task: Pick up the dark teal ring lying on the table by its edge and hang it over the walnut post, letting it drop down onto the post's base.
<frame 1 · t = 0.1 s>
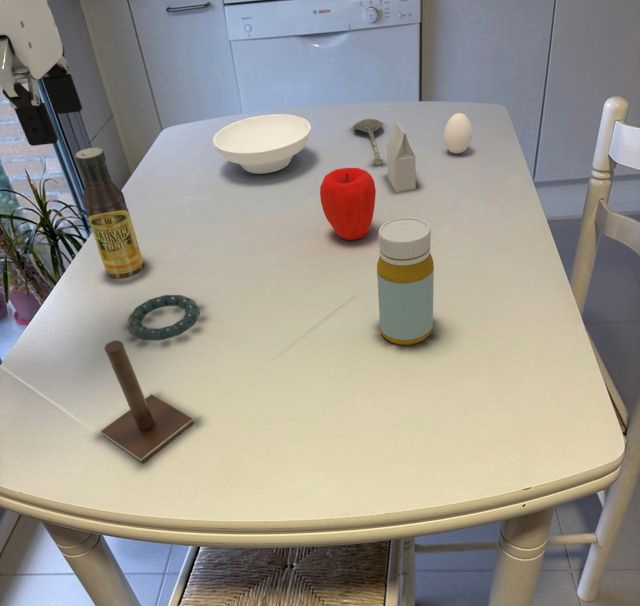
hand: (57, 127, 74), 29 cm above the table, tool pointing down, fingers open, 9 cm apart
bottle: (406, 332, 88), on the table
apple: (351, 236, 108), on the table
soupspoon: (371, 146, 134), on the table
egg: (457, 153, 127), on the table
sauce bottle: (128, 274, 107), on the table
bowl: (267, 167, 132), on the table
peg stand: (148, 430, 79), on the table
ring: (163, 318, 95), point 1 cm above the table
milk carton: (401, 184, 120), on the table
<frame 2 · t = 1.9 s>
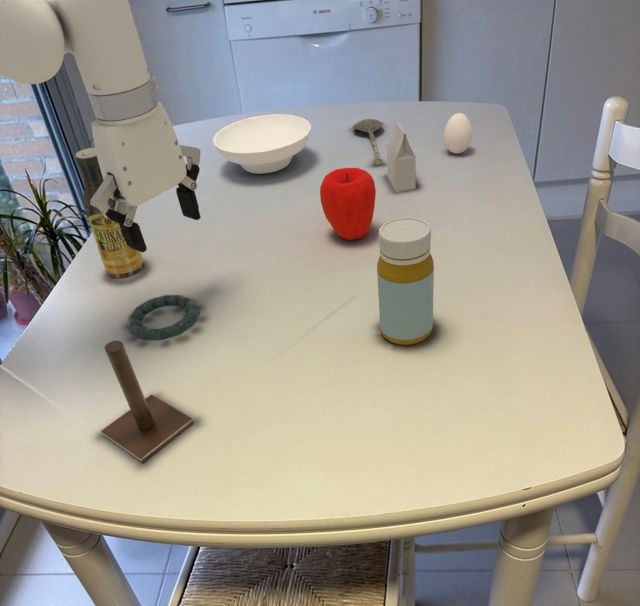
hand: (166, 232, 89), 13 cm above the table, tool pointing down, fingers open, 9 cm apart
nothing on the table moved.
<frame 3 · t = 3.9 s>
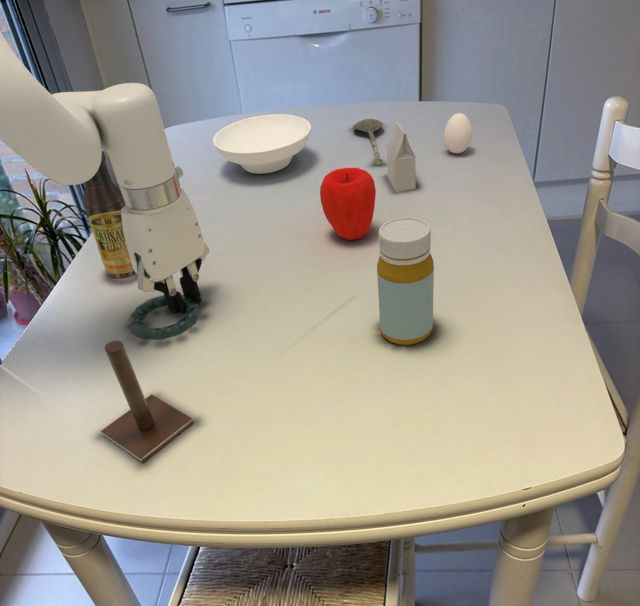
hand: (186, 307, 97), 0 cm above the table, tool pointing down, fingers closed on ring, 2 cm apart
ring: (164, 317, 95), point 1 cm above the table, touching gripper
everything else where it was.
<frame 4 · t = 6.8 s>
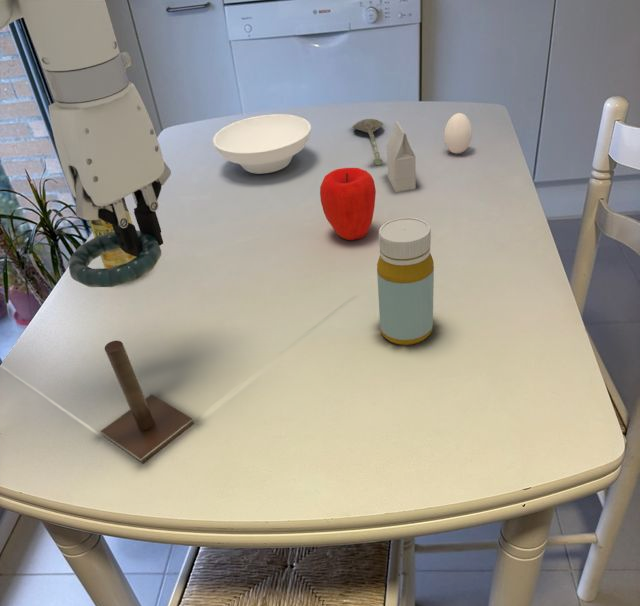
hand: (143, 247, 77), 17 cm above the table, tool pointing down, fingers closed on ring
ring: (115, 257, 74), point 18 cm above the table, touching gripper
everything else where it was.
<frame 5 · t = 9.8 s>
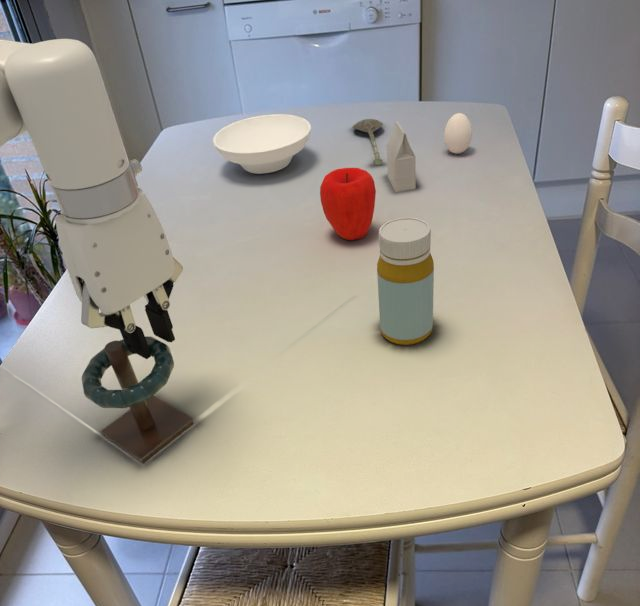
hand: (152, 344, 74), 10 cm above the table, tool pointing down, fingers closed
ring: (127, 371, 73), point 9 cm above the table, tilted 7°
everything else where it was.
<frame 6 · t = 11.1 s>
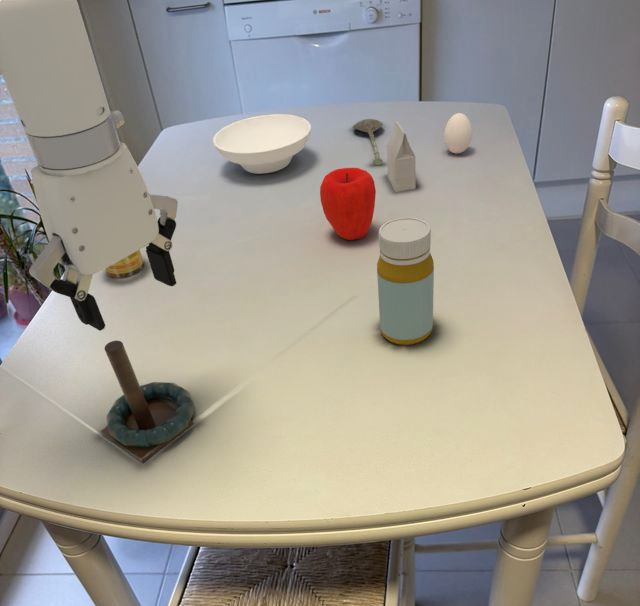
hand: (131, 302, 70), 16 cm above the table, tool pointing down, fingers open, 9 cm apart
ring: (150, 413, 78), point 2 cm above the table, touching peg stand
everything else where it was.
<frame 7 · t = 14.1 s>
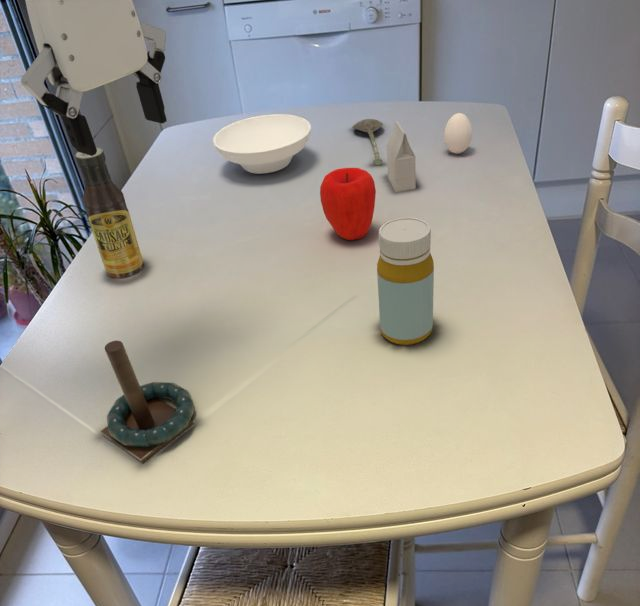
hand: (123, 136, 72), 28 cm above the table, tool pointing down, fingers open, 9 cm apart
nothing on the table moved.
at the end: ring 1.1 cm from the peg stand (horizontally); ring point 2.0 cm above the table; the gripper is holding nothing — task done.
